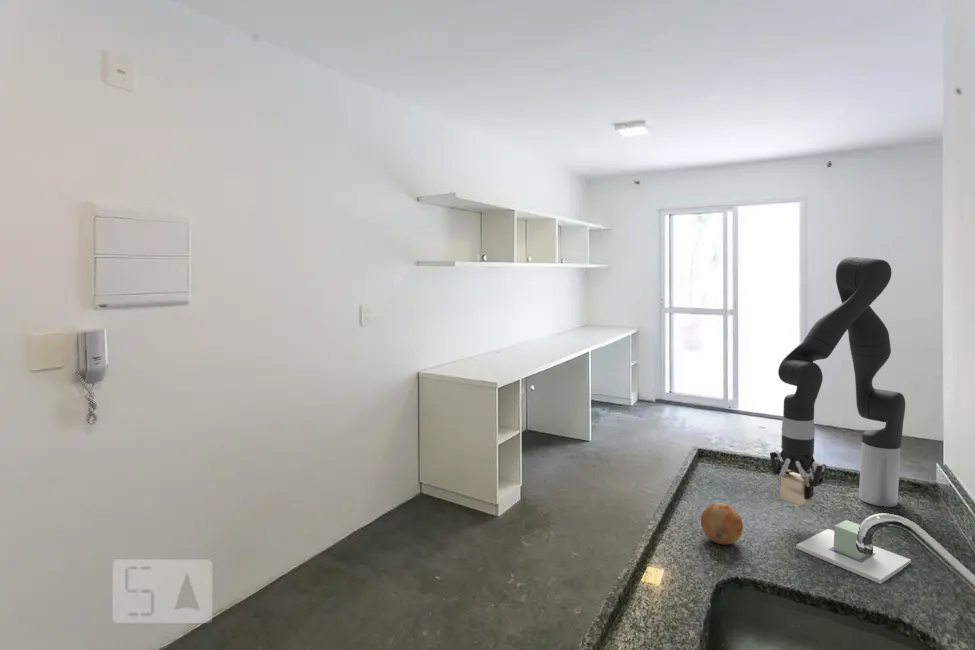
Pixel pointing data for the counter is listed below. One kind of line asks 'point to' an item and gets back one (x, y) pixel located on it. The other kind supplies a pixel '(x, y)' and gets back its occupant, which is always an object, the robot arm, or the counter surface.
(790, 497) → the beech block
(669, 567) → the counter surface
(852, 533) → the sage block
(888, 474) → the robot arm
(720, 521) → the onion
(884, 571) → the baseplate
